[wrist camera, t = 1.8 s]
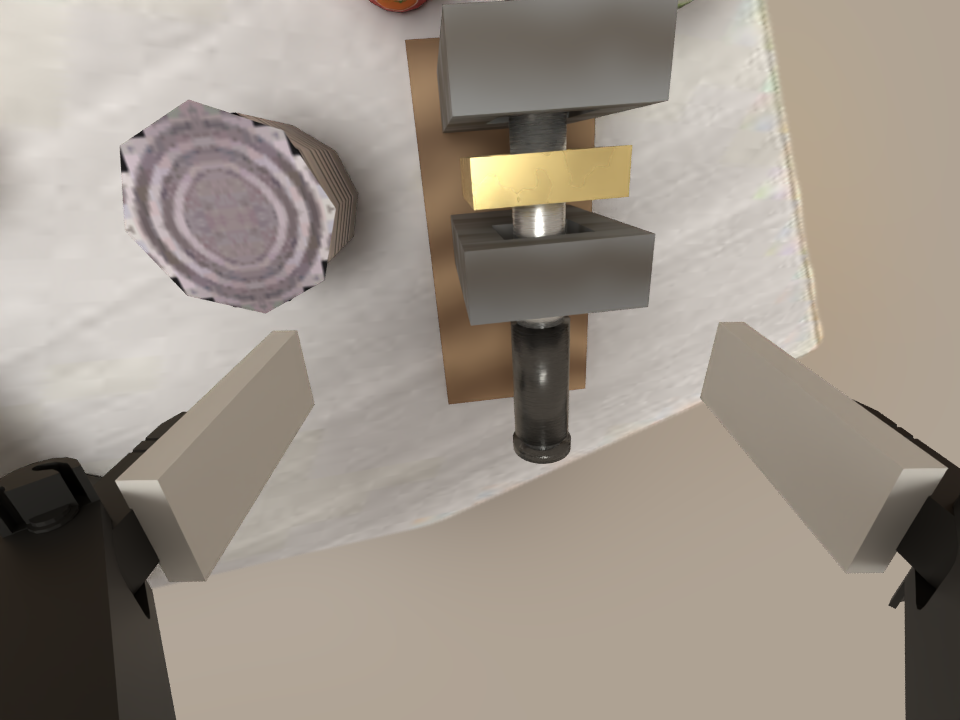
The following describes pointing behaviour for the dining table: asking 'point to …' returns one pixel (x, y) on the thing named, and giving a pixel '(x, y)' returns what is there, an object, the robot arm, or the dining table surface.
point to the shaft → (544, 339)
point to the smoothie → (398, 4)
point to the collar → (546, 177)
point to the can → (236, 205)
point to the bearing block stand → (485, 131)
